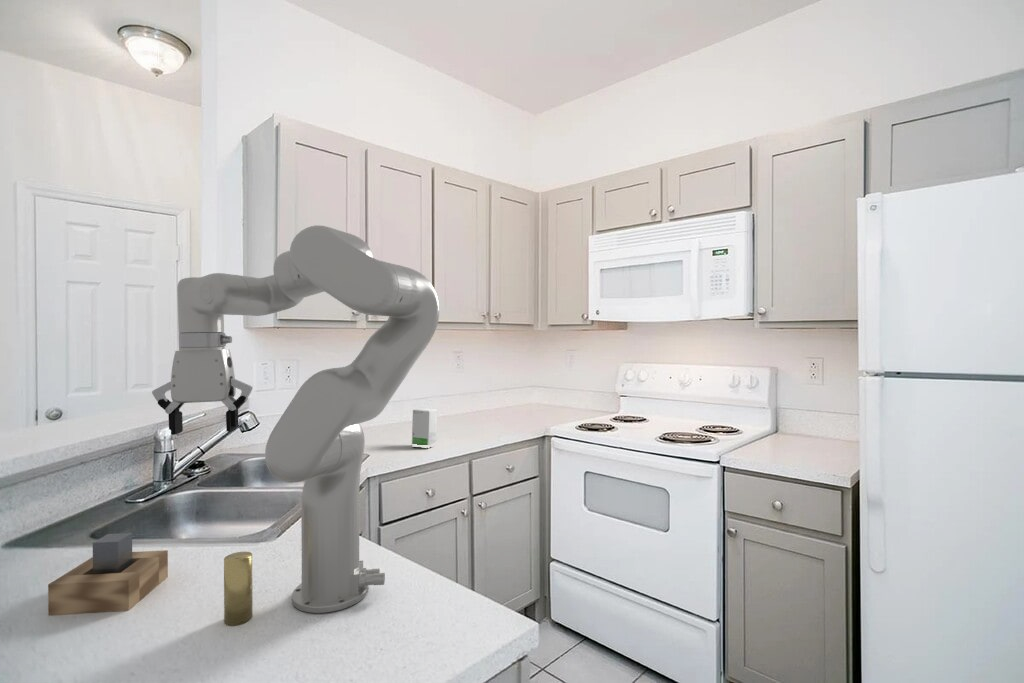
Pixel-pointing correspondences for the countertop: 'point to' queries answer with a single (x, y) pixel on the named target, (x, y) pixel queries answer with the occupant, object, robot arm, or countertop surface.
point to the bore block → (107, 585)
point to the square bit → (112, 553)
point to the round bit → (238, 588)
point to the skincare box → (424, 426)
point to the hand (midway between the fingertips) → (204, 432)
